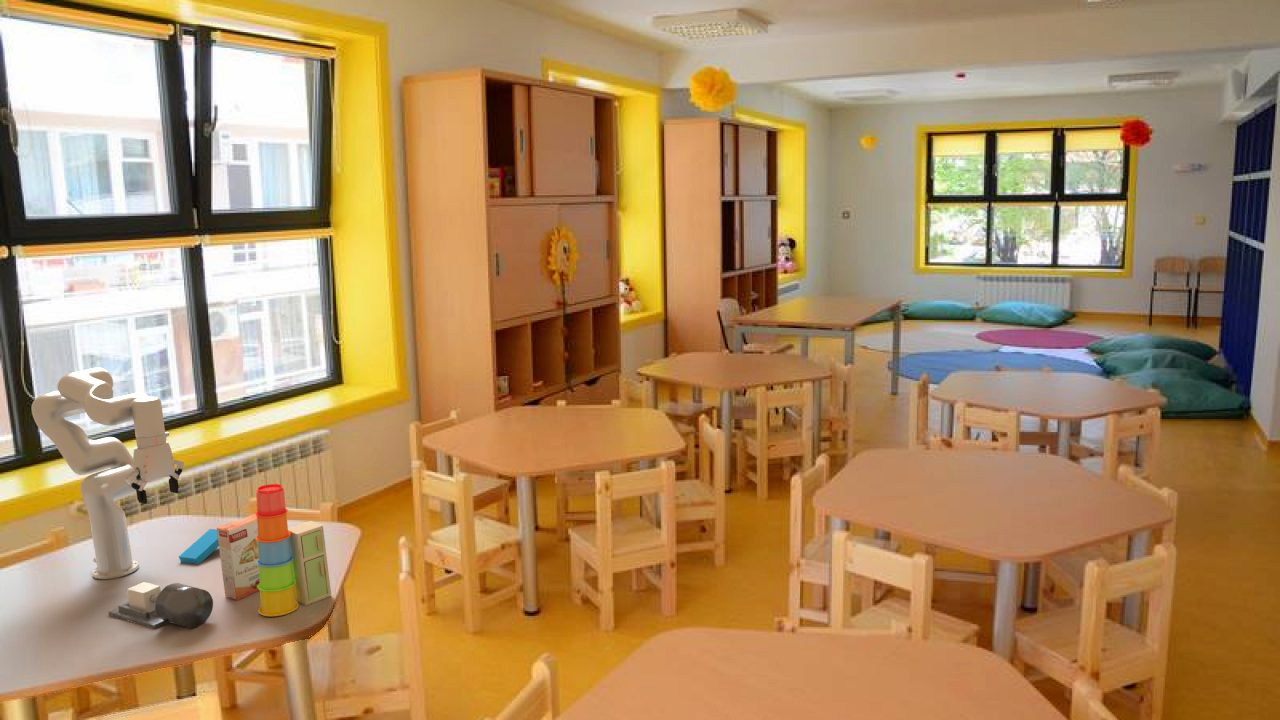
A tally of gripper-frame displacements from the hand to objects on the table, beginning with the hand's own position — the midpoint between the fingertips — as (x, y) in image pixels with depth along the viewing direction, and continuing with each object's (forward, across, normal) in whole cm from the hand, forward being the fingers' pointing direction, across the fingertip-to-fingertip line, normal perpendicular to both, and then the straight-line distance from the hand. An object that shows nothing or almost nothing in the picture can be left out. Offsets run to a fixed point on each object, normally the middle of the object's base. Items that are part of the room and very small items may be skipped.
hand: (158, 497), depth 278 cm
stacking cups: (+26, -3, +44) cm, 51 cm away
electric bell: (+27, +14, +17) cm, 35 cm away
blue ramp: (+28, -22, -12) cm, 38 cm away
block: (+26, +14, +10) cm, 31 cm away
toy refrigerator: (+26, -12, +47) cm, 55 cm away
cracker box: (+27, -9, +26) cm, 38 cm away
